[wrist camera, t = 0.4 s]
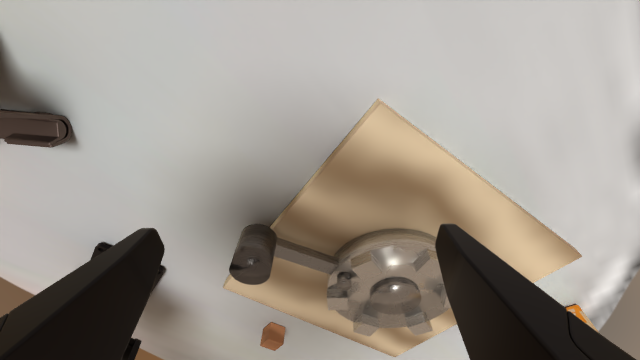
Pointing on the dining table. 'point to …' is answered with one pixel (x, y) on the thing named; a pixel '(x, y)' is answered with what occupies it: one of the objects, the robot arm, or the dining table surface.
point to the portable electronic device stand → (34, 128)
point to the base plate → (393, 222)
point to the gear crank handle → (359, 275)
